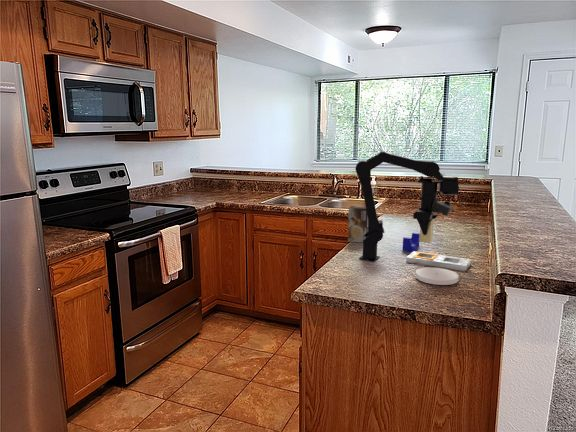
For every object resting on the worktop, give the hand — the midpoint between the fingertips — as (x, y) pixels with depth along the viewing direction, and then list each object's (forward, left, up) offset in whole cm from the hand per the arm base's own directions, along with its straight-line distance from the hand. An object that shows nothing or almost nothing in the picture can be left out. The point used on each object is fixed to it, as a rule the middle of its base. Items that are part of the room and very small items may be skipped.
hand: (426, 233), depth 168 cm
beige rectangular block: (0, 0, -3) cm, 3 cm away
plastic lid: (-20, -9, -12) cm, 25 cm away
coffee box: (+17, +35, -11) cm, 40 cm away
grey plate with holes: (0, -5, -11) cm, 12 cm away
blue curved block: (+16, +9, -12) cm, 22 cm away
